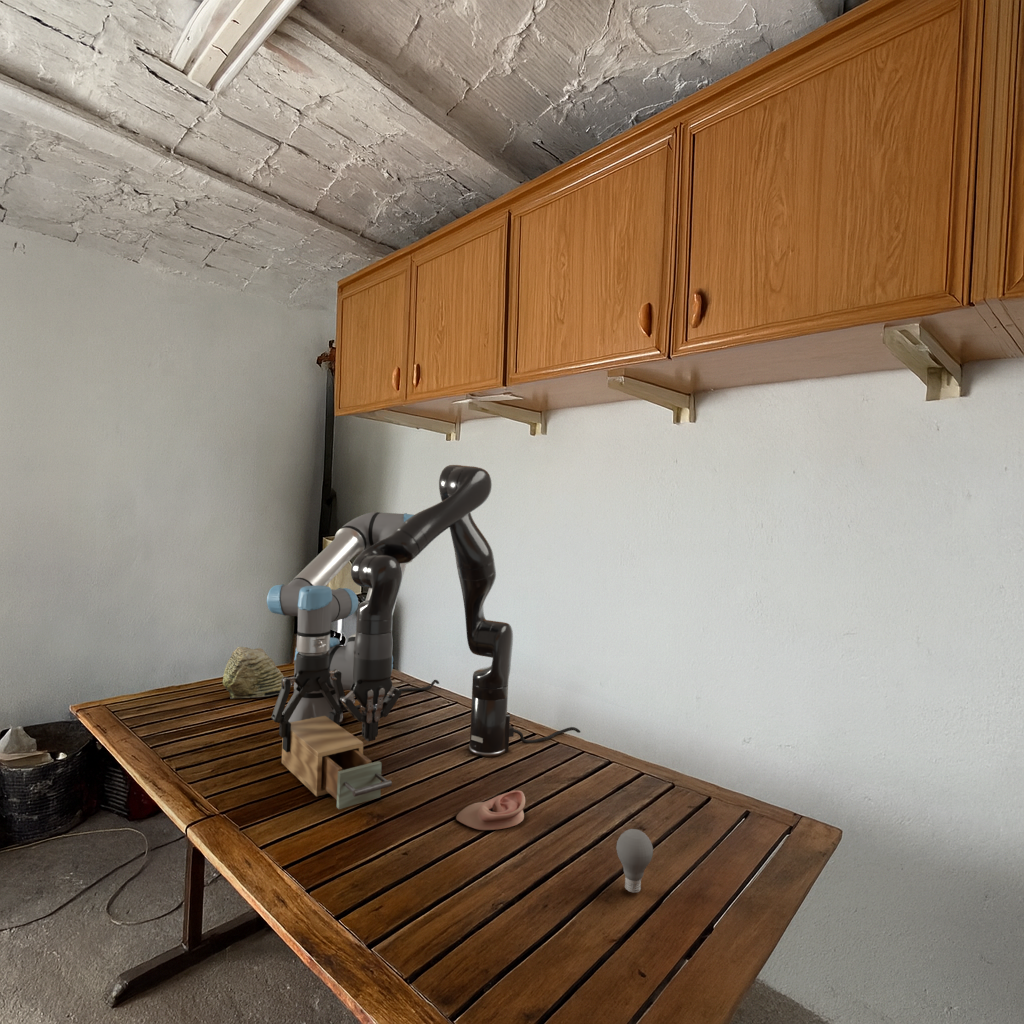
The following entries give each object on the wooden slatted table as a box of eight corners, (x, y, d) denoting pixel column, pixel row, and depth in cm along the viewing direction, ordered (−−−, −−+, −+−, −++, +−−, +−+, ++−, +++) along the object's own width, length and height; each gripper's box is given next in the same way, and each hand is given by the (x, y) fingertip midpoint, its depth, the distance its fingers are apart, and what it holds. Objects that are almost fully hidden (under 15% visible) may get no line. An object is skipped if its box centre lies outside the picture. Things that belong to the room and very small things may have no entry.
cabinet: (361, 784, 140) (363, 742, 140) (316, 796, 134) (318, 753, 133) (323, 753, 156) (325, 715, 156) (281, 762, 150) (282, 723, 149)
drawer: (393, 808, 128) (395, 772, 128) (351, 821, 122) (352, 783, 122) (340, 765, 147) (341, 733, 147) (301, 774, 142) (303, 742, 141)
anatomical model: (452, 805, 124) (467, 780, 135) (451, 826, 124) (467, 799, 135) (518, 815, 121) (529, 789, 132) (517, 836, 121) (528, 808, 132)
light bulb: (610, 879, 108) (613, 822, 108) (644, 879, 109) (647, 822, 109) (619, 902, 102) (622, 840, 102) (655, 901, 103) (658, 840, 103)
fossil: (218, 695, 195) (220, 647, 195) (278, 685, 208) (279, 640, 207) (228, 703, 189) (230, 653, 188) (289, 692, 201) (290, 645, 201)
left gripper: (269, 661, 139) (265, 761, 140) (365, 649, 154) (361, 739, 154) (258, 654, 145) (254, 750, 146) (351, 643, 160) (348, 730, 160)
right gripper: (350, 662, 119) (346, 753, 120) (411, 653, 128) (408, 738, 128) (333, 653, 125) (330, 740, 125) (393, 645, 134) (390, 727, 134)
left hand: (309, 744), depth 150 cm, fingers closed on cabinet, 10 cm apart
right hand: (369, 739), depth 127 cm, fingers closed
